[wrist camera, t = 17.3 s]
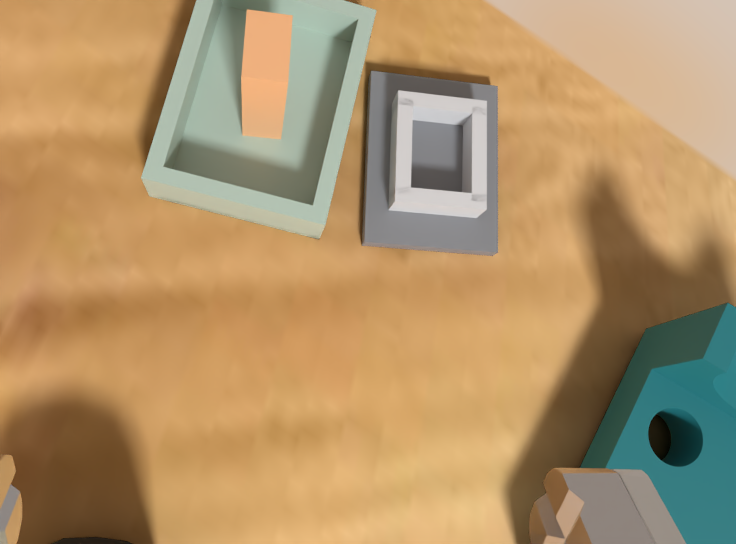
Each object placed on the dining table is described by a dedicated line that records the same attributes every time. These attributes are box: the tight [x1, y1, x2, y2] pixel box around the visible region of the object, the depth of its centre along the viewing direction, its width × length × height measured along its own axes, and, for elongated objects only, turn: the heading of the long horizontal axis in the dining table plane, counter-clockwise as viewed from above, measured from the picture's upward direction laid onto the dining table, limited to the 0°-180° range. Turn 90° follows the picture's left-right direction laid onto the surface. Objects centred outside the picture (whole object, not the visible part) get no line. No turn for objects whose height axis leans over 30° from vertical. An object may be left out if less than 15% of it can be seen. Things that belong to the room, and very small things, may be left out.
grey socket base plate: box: [362, 71, 498, 256], centre depth 45 cm, size 9×12×3 cm
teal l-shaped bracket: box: [580, 303, 736, 544], centre depth 39 cm, size 18×11×10 cm, turn 148°
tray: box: [141, 0, 376, 239], centre depth 43 cm, size 11×15×4 cm
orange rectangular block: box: [241, 9, 293, 139], centre depth 40 cm, size 2×4×8 cm, turn 177°
